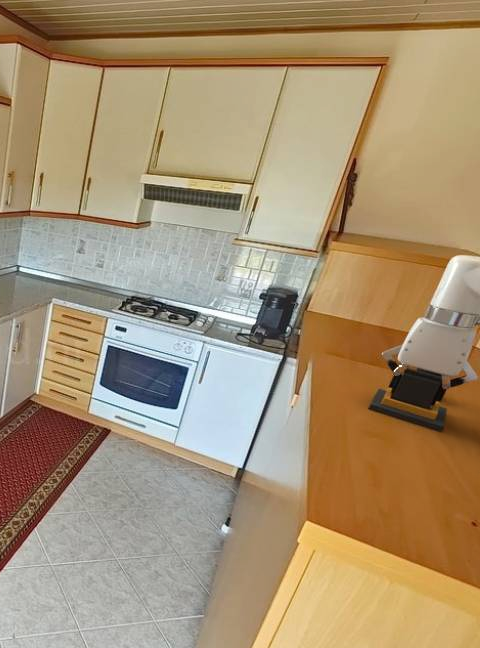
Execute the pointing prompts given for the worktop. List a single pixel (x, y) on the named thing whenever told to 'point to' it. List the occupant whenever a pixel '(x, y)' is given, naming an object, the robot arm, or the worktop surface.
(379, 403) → the base pad
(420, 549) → the worktop surface
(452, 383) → the robot arm
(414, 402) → the black pad
